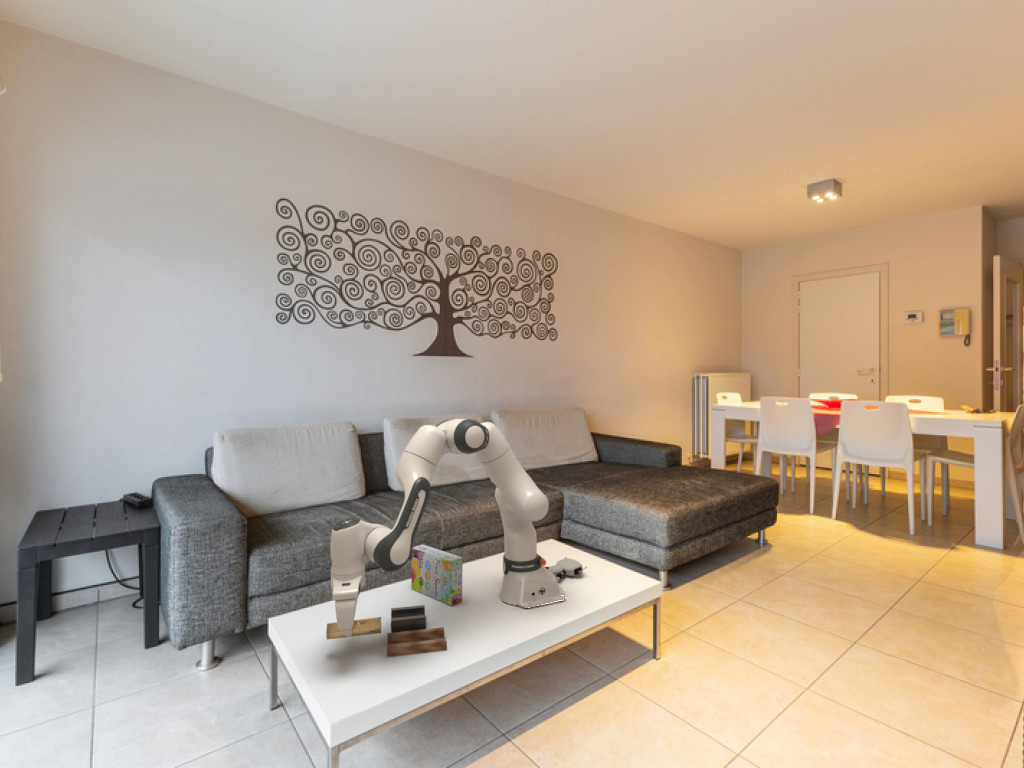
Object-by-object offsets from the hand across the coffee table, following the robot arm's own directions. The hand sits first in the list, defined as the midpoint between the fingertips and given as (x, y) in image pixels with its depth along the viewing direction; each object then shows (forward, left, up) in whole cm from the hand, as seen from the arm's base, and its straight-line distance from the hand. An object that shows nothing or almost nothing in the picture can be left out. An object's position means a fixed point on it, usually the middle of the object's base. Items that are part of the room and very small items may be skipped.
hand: (349, 630), depth 138 cm
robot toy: (-74, -38, -7) cm, 84 cm away
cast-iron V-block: (-16, -10, -7) cm, 20 cm away
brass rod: (-1, 0, -2) cm, 2 cm away
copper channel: (-18, 0, -7) cm, 19 cm away
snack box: (-26, -32, -7) cm, 42 cm away
